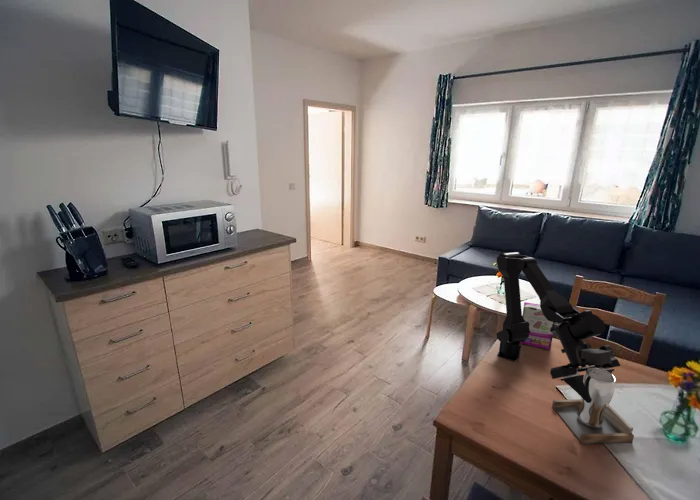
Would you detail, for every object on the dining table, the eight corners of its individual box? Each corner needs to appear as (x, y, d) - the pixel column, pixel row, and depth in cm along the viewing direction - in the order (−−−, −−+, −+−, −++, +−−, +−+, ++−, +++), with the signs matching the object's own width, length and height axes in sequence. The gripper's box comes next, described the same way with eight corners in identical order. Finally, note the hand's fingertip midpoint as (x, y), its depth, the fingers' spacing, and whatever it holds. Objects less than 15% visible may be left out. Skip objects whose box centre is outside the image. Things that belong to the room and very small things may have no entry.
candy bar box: (550, 344, 134) (556, 306, 129) (550, 350, 129) (557, 312, 125) (518, 337, 139) (524, 301, 134) (518, 343, 134) (523, 306, 130)
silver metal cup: (586, 407, 99) (597, 364, 95) (610, 425, 93) (623, 380, 89) (569, 413, 97) (579, 370, 93) (592, 432, 91) (604, 386, 86)
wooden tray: (581, 443, 89) (584, 431, 88) (552, 406, 102) (554, 395, 100) (632, 442, 89) (635, 430, 88) (596, 405, 102) (598, 394, 101)
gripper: (566, 341, 90) (594, 404, 83) (621, 331, 94) (654, 391, 87) (539, 349, 99) (562, 407, 92) (590, 341, 103) (617, 395, 96)
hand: (599, 400), depth 92 cm, fingers closed on silver metal cup, 6 cm apart
